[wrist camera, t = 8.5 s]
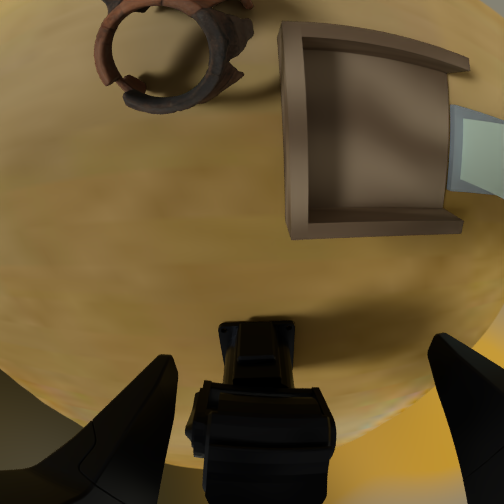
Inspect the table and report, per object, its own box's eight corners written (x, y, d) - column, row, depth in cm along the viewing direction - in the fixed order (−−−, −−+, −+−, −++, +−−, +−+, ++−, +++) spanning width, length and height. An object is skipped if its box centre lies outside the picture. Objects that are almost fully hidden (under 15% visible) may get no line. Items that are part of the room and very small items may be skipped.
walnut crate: (438, 217, 20) (461, 233, 17) (285, 221, 20) (291, 240, 17) (442, 62, 14) (468, 58, 11) (277, 37, 15) (281, 21, 11)
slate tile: (496, 193, 18) (500, 195, 18) (446, 189, 19) (450, 191, 18) (501, 120, 15) (505, 121, 15) (450, 104, 16) (454, 104, 15)
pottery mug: (293, 25, 14) (288, 49, 10) (205, 99, 21) (167, 157, 16) (168, -66, 8) (97, -75, 4) (99, 23, 14) (28, 60, 10)
